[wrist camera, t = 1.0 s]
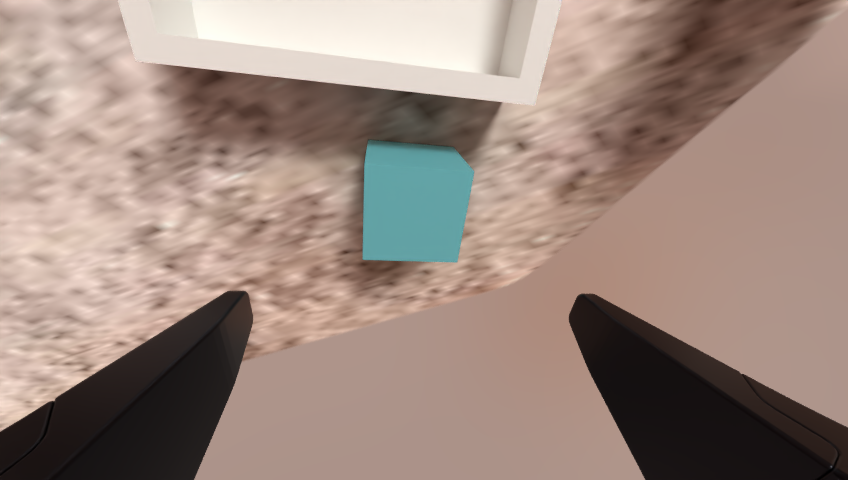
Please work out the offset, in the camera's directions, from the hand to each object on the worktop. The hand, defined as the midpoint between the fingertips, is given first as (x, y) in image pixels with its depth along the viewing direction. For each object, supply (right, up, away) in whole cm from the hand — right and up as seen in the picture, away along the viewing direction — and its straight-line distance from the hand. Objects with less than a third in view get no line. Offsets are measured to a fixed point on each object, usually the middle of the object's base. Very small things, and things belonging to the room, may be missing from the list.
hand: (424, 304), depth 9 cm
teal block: (-1, +5, +11) cm, 12 cm away
